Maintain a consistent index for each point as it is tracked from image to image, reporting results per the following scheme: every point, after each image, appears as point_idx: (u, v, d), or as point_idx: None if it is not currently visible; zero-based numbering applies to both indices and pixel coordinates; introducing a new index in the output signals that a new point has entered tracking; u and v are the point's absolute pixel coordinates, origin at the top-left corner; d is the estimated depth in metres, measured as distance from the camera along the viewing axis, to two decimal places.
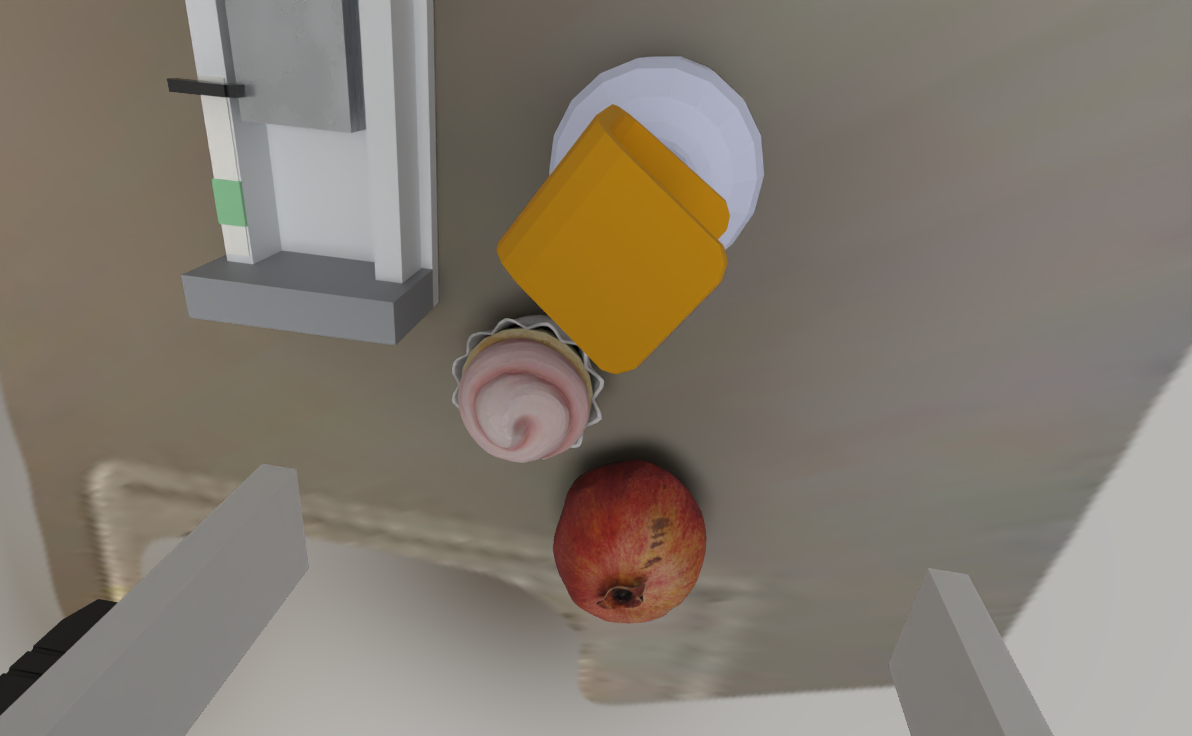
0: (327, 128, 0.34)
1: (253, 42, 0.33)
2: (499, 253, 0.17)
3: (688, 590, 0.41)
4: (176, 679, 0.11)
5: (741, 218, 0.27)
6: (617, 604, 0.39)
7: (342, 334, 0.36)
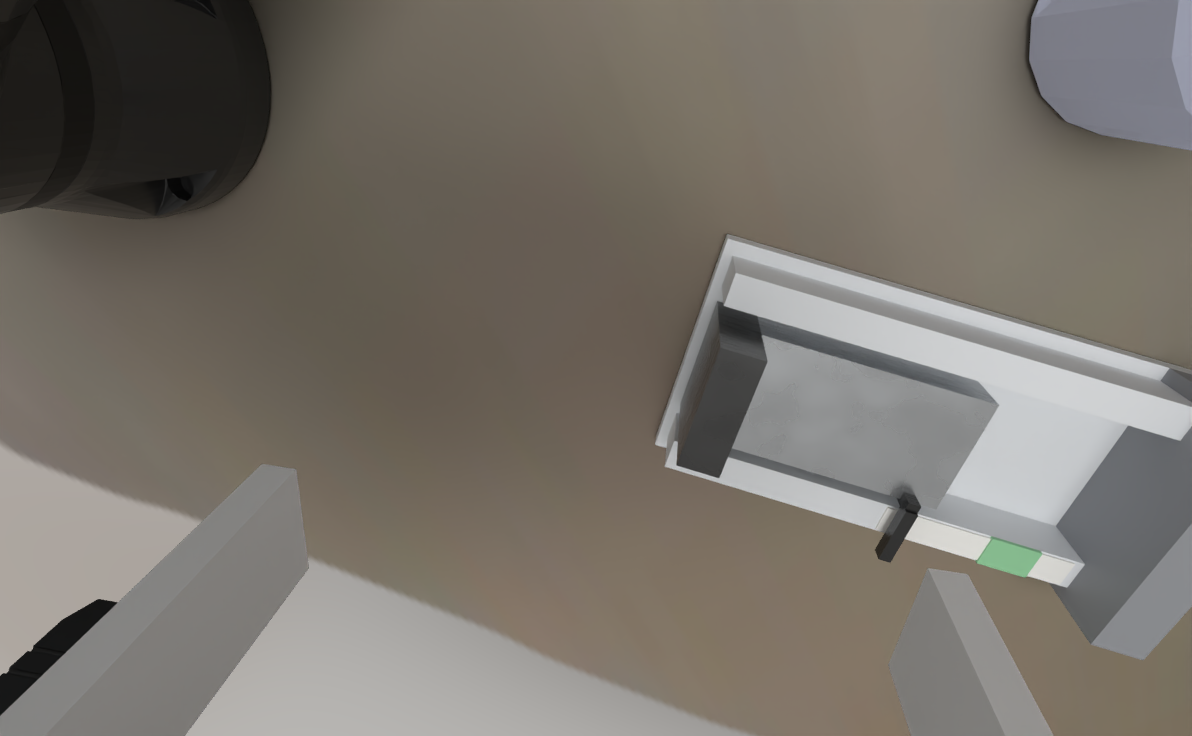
0: (983, 428, 0.30)
1: (871, 466, 0.32)
2: None
3: None
4: (176, 679, 0.11)
5: None
6: None
7: None
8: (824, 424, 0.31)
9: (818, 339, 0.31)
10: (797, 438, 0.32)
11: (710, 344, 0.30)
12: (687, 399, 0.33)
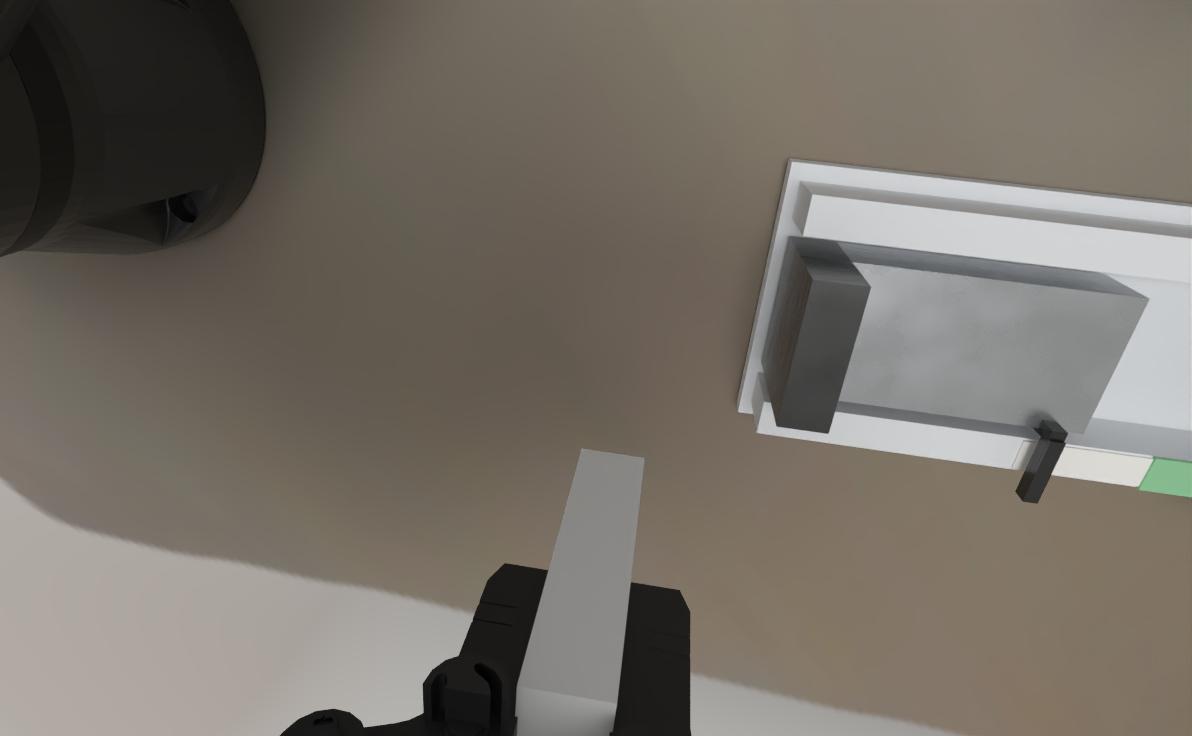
0: (1132, 329, 0.25)
1: (999, 395, 0.27)
2: None
3: None
4: None
5: None
6: None
7: None
8: (938, 354, 0.27)
9: (915, 258, 0.27)
10: (907, 376, 0.27)
11: (793, 283, 0.26)
12: (772, 352, 0.29)
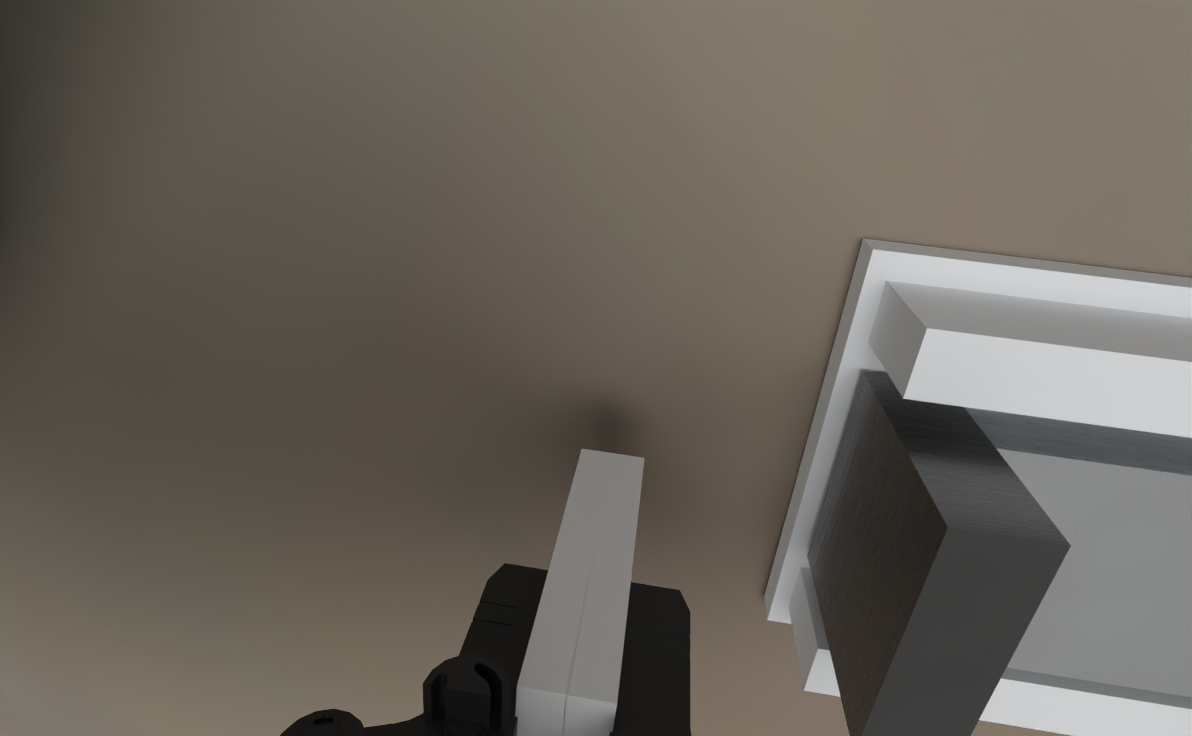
0: None
1: None
2: None
3: None
4: None
5: None
6: None
7: None
8: (1139, 600, 0.15)
9: (1096, 425, 0.15)
10: (1078, 630, 0.15)
11: (881, 478, 0.14)
12: (833, 569, 0.17)
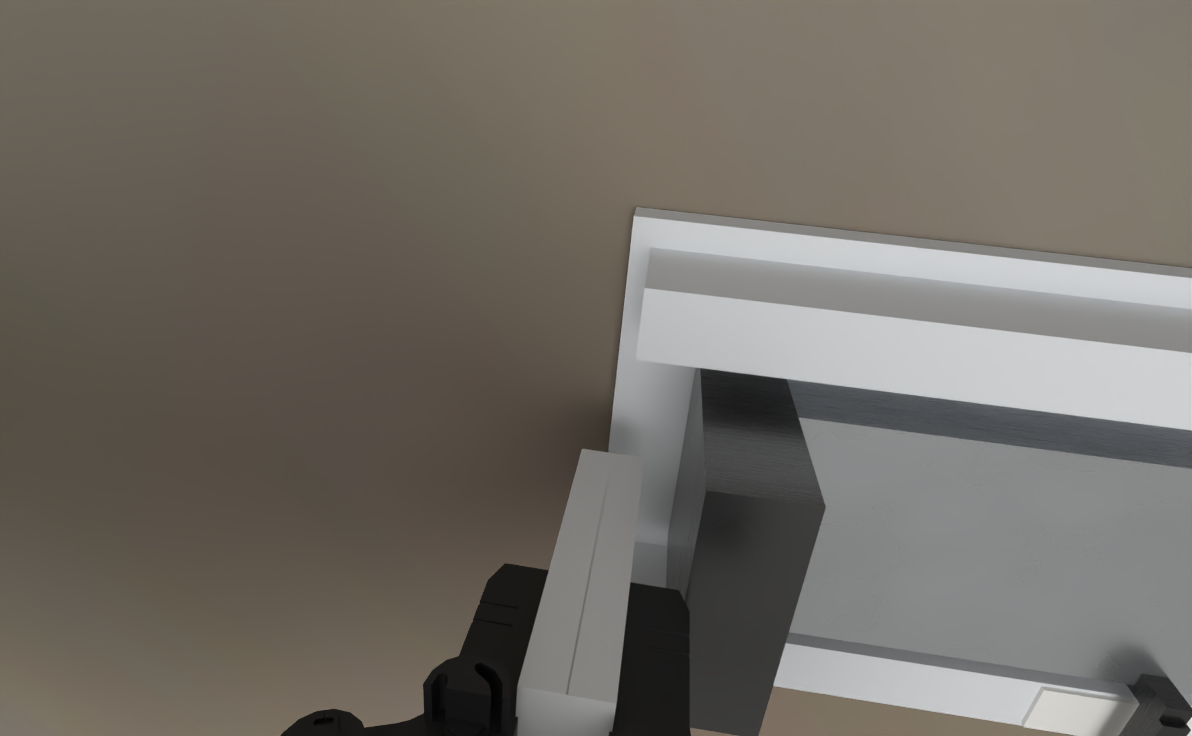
0: None
1: (1066, 634, 0.15)
2: None
3: None
4: None
5: None
6: None
7: None
8: (959, 569, 0.15)
9: (917, 396, 0.15)
10: (905, 601, 0.16)
11: (694, 449, 0.14)
12: (673, 544, 0.17)
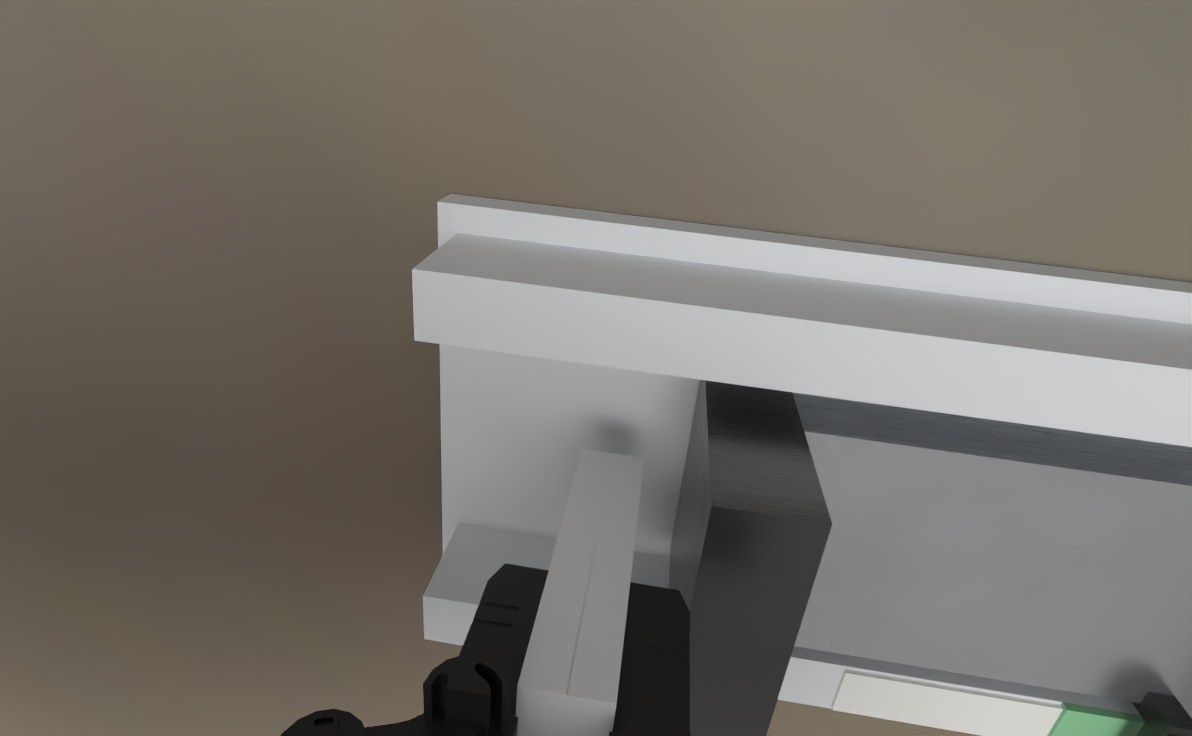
0: None
1: (1072, 651, 0.15)
2: None
3: None
4: None
5: None
6: None
7: None
8: (964, 585, 0.15)
9: None
10: (908, 616, 0.15)
11: (698, 461, 0.14)
12: (676, 556, 0.17)
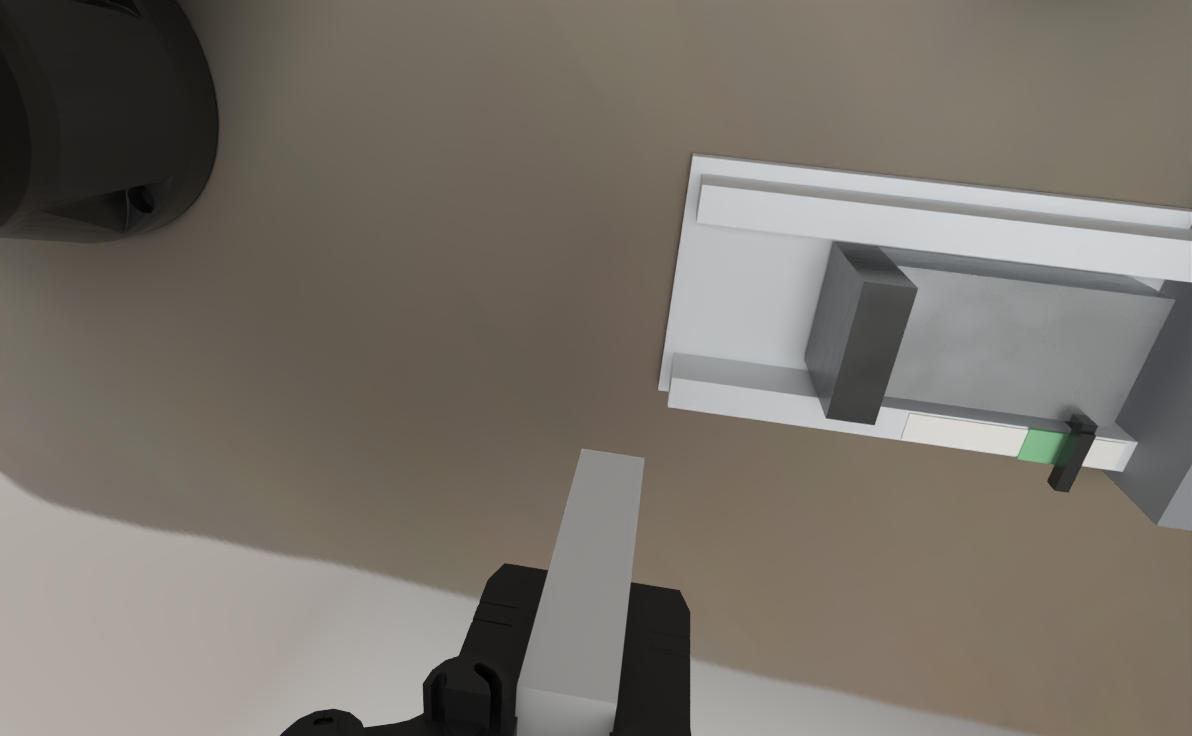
0: (1158, 328, 0.27)
1: (1032, 390, 0.29)
2: None
3: None
4: None
5: None
6: None
7: None
8: (976, 352, 0.29)
9: (954, 262, 0.29)
10: (946, 372, 0.29)
11: (840, 285, 0.28)
12: (817, 350, 0.31)
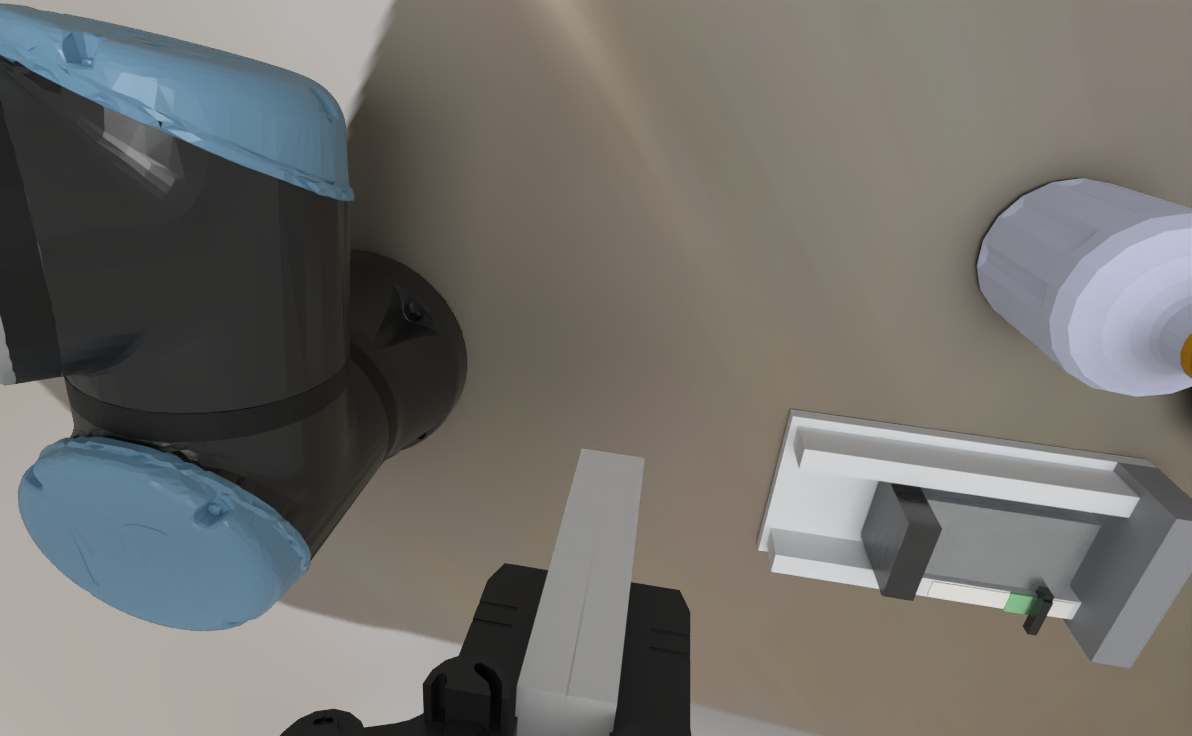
0: (1091, 540, 0.43)
1: (1013, 572, 0.45)
2: None
3: None
4: None
5: None
6: None
7: None
8: (976, 549, 0.45)
9: None
10: (957, 560, 0.45)
11: (890, 508, 0.44)
12: (872, 540, 0.47)
